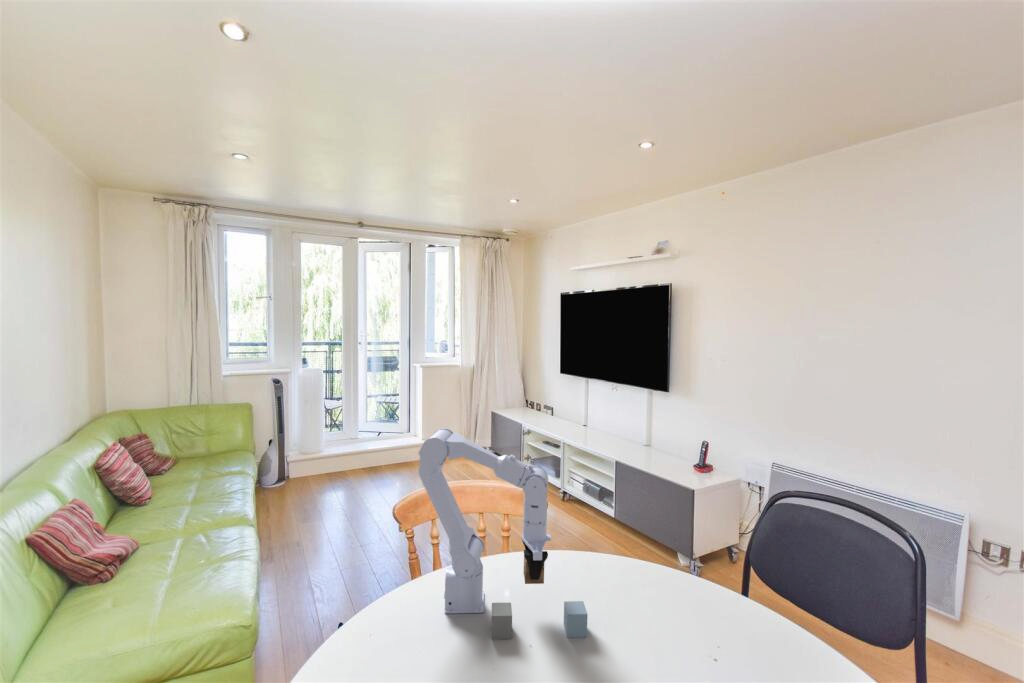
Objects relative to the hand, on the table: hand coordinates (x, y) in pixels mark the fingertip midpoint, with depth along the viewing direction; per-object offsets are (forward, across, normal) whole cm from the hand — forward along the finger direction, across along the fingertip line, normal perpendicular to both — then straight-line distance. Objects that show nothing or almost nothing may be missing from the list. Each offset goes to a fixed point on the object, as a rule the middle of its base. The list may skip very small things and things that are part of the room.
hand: (533, 572), depth 110 cm
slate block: (+10, -8, -9) cm, 15 cm away
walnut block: (+1, 0, 0) cm, 1 cm away
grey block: (+10, -8, +8) cm, 15 cm away
